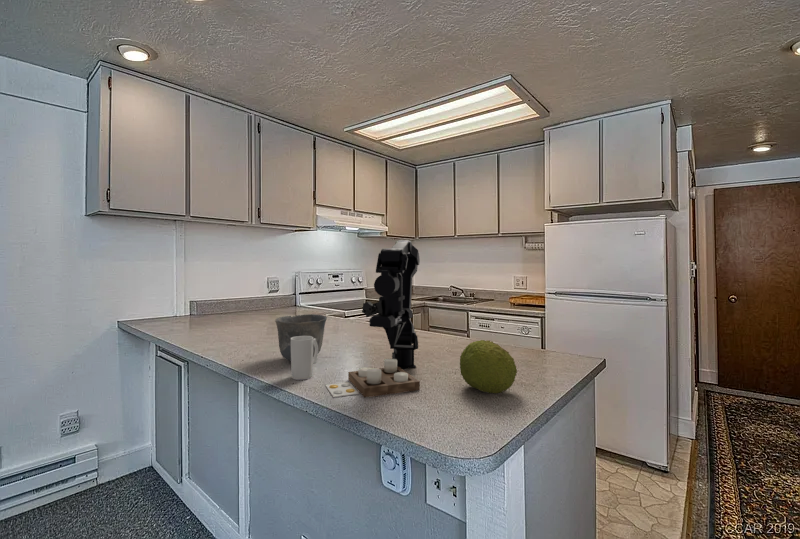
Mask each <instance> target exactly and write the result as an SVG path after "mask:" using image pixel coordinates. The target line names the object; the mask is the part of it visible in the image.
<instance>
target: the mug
mask: <svg viewBox="0 0 800 539" xmlns="http://www.w3.org/2000/svg"><path fill="white" fill-rule="evenodd" d="M313 345H314V347H315V354H314V357H313ZM318 356H319V353H318V345H317V342H316V339H315V338H314V339H313V337H312V336H296V337H292V338H291V361H290V367H291V368H290V369H291V378H292V379H293V380H294V381H295V380H296V381H297V380H298V381H303V380H305V381H306V380H308V379H312V378H313V376H314V365H315V364H316V363H317V360H318ZM316 365H317V364H316Z"/></svg>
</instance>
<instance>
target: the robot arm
mask: <svg viewBox="0 0 800 539" xmlns="http://www.w3.org/2000/svg"><path fill="white" fill-rule="evenodd" d="M419 265H420V253H419V249H418V248H416V247H415V246H414V245H413V244H412V241H411V240H409V239H407V240H405V239H404V240H401V239H400V240H396V241H395V244H394V245H393V246H392V247H390V248H382V249H381V250H380V252H379V253H378V256H377V262H376V267H375V273H376V274H380V275H378V276H377V278H375V281H374V283H373V289H374V291H375V293H377V294H378V295H379V298H378V301H377V302H374V303H372V302H371V301H367V302H364V303H363V304H362V310H361V313H363V314H364V315H365V317H366V318H369V317H370V318H369V327H371V328H373V327H375V328H382V329H384V331H385V333H386V336H387V340H388V343H389V344H388V345H389V348H390V350H393V352H391V359H397V366H398V367H400V368H401V369H403V370H405V369H412V368H414V369H415V368H417V365H415V351H416V350H418V349H419V338H418V335H417V332H416V331H415V326H414V324H413V322H412V320H411V318H413V316H414V313H413V310H412V309H411V308H412V294H413V292H412V290H413V278H414V276H415V275H416V274H417V272H418V266H419Z"/></svg>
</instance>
